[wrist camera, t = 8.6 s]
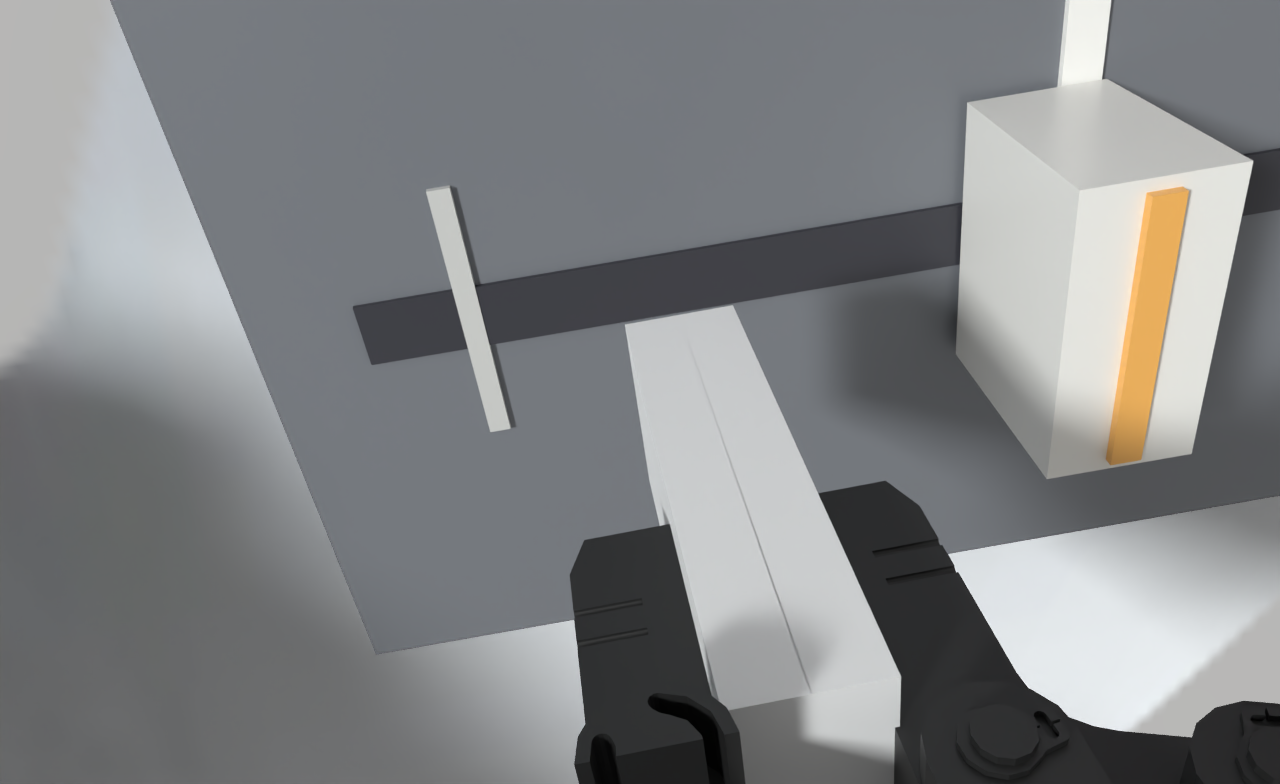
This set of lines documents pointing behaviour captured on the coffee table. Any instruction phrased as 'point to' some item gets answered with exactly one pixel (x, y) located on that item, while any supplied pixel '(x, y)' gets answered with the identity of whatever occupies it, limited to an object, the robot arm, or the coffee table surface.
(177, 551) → the coffee table surface
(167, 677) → the coffee table surface
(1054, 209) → the fader cap
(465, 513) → the console
